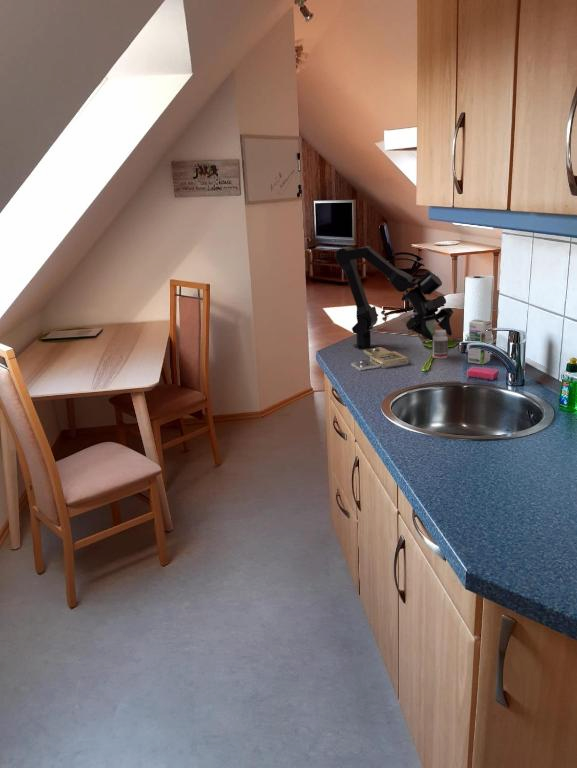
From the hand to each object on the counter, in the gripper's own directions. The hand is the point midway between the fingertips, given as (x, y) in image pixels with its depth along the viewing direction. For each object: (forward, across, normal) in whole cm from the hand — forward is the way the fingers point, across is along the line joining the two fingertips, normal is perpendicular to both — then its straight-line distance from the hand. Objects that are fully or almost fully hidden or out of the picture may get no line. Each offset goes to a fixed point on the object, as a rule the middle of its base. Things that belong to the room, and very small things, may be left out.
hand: (441, 337), depth 217 cm
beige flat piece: (-4, -21, +14) cm, 26 cm away
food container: (-10, +14, +20) cm, 26 cm away
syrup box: (+14, +5, -4) cm, 16 cm away
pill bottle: (+5, 0, +6) cm, 8 cm away
